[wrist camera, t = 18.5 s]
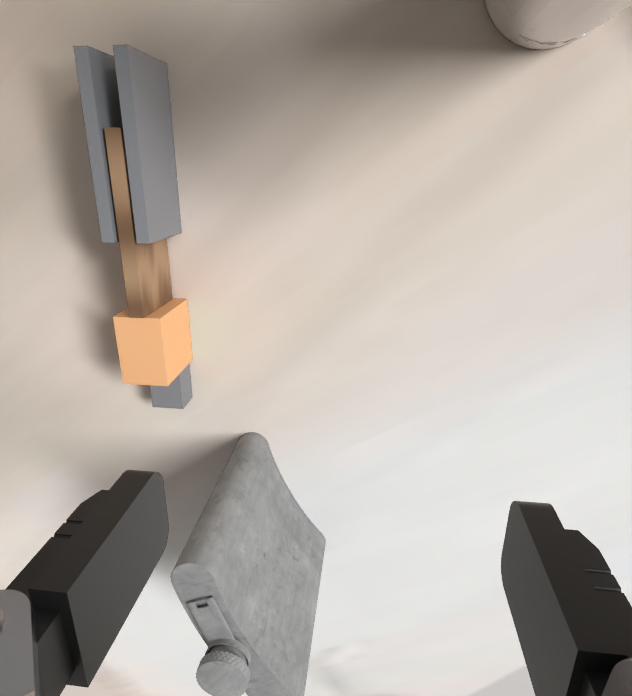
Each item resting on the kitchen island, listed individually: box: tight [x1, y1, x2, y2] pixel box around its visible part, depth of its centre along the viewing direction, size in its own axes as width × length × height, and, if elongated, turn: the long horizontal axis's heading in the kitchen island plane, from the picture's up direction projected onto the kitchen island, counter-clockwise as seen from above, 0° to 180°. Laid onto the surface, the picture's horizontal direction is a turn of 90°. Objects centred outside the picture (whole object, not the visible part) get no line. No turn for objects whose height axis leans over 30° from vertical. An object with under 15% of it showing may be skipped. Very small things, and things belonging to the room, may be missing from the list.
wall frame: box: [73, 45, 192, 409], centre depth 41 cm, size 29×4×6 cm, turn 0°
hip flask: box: [171, 432, 325, 696], centre depth 42 cm, size 16×4×20 cm, turn 27°
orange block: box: [113, 299, 193, 386], centre depth 44 cm, size 6×4×6 cm, turn 0°
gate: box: [104, 127, 173, 318], centre depth 40 cm, size 14×1×6 cm, turn 0°
